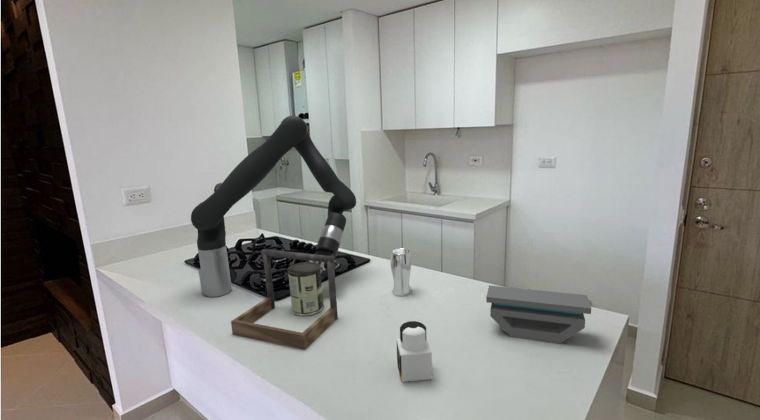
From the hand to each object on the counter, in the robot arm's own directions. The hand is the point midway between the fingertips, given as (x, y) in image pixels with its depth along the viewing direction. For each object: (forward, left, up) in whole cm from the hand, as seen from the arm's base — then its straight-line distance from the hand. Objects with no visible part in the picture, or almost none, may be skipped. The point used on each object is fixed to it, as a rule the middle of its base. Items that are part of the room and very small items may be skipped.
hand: (314, 287), depth 130 cm
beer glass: (+27, +11, -5) cm, 30 cm away
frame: (-3, -16, -5) cm, 17 cm away
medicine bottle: (+37, -32, -5) cm, 50 cm away
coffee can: (-1, -5, -5) cm, 7 cm away
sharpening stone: (+67, -10, -5) cm, 68 cm away
